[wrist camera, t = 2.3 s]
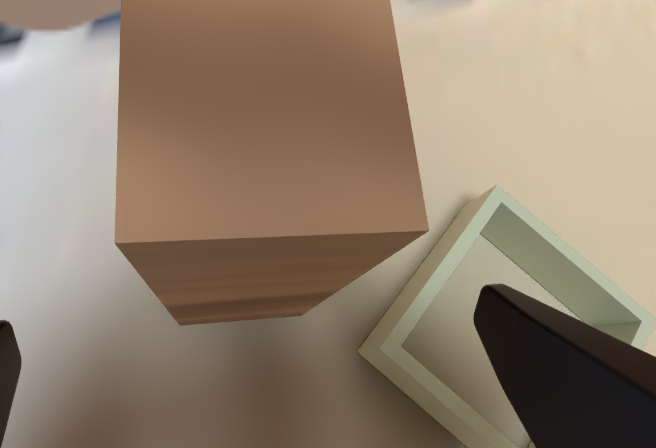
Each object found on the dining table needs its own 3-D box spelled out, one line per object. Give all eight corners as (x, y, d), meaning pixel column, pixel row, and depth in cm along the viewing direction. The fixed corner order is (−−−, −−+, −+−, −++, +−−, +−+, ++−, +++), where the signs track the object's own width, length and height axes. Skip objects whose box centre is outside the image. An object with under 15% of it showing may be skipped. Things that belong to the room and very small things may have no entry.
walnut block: (300, 315, 20) (429, 230, 8) (179, 325, 19) (114, 243, 7) (291, 206, 21) (388, -7, 9) (178, 208, 20) (121, -32, 8)
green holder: (520, 493, 20) (569, 513, 17) (357, 351, 20) (379, 348, 17) (604, 325, 23) (657, 319, 20) (464, 206, 24) (497, 183, 21)
